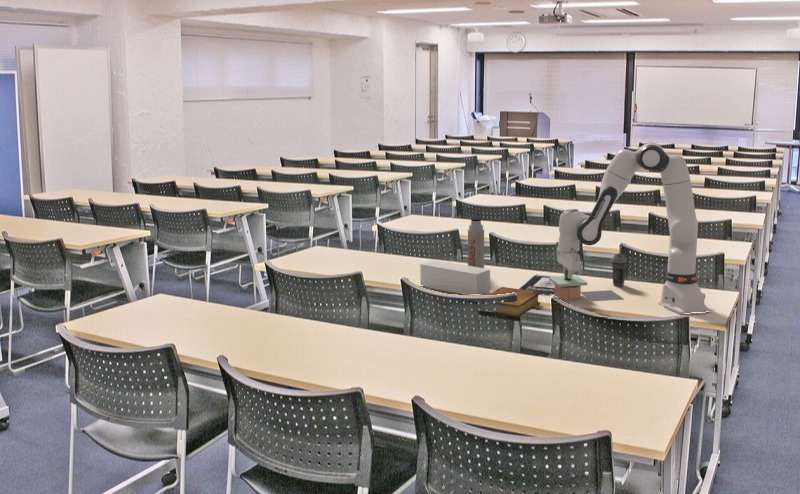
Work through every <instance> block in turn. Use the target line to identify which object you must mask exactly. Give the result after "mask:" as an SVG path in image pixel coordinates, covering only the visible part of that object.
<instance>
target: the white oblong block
mask: <svg viewBox="0 0 800 494" xmlns="http://www.w3.org/2000/svg"><path fill="white" fill-rule="evenodd" d="M419 267H420V269H419V270H420V275H419V276H420V277H419V278H420V279H419V280H420V285H423V286H422V287H424V286H426V287H425V288H429V287H430V288H431V289H435V290H438V291H439V290H441V291H443V292H444V291H446V292H451V293H456V294H460V293H465V294H483V295H485V294H487V293H491V269H490V268H486V267H484V268H479V267H473V266H468V264H467V265H466V264H460V263H453V262H450V261H449V262H448V261H443V260H438V259H437V260H436V259H432V260H430V261H426V262H422V263H420V265H419ZM484 293H485V294H484ZM465 294H464V295H465Z"/></svg>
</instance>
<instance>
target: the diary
mask: <svg viewBox="0 0 800 494" xmlns="http://www.w3.org/2000/svg"><path fill="white" fill-rule="evenodd" d="M512 292H515V293H517V301H515V302H499V303H497V304H499V305H500V306H499V307H498V311H497V312H490V313H489V314H494V315H495V314H496V315H501V316H508V317H514V318H520V317H522V316H523V315H525V314H526V313H528V312H529V311H531V310H532V309H534V308H535V307H537V306H538V305H539V304H541V302H540V301H539V296H540V295H539V294H540V292H537V291H529V290H522V289H519V288H514V287H506V286H501V287H499V288H498V289H495V290H494V291H492V292H489V294H488V295H497V294H506V293H512Z"/></svg>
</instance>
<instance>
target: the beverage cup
mask: <svg viewBox="0 0 800 494" xmlns="http://www.w3.org/2000/svg"><path fill="white" fill-rule="evenodd" d="M621 251H622V245H621V244H620V245H619V253H616V254H614V255H613V256H612V258H611V267H612V269H611V270H612V283H613V286H614V287H624V284H625V279H626V278H625V277H626V271H627V266H628V264H629V263H628V259H627V256H626V255H625V254H623V253H622V252H621Z"/></svg>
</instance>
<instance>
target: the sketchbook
mask: <svg viewBox="0 0 800 494" xmlns="http://www.w3.org/2000/svg"><path fill="white" fill-rule="evenodd" d="M549 277H554V276H553V275H547V274H546V275H543V274H535V275H533V276H532V277H530V279H528V280H527V281H526V282H525V283H524V284H523V285H522V286H520V287H519V288H518V289H522V290H529V291H537V292H540V294H544V295H543V296H548V295H550V296H551V297H552V295H553V296H554V292H555V284H554V283H553V282H552V281H550V280H549ZM550 296H549V297H550Z"/></svg>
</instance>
